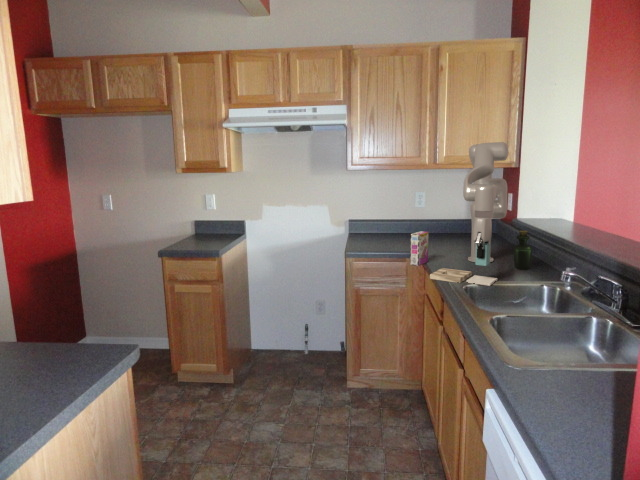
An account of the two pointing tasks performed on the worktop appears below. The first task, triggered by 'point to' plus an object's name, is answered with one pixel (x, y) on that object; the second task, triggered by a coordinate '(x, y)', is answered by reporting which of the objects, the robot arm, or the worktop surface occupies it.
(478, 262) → the teal block
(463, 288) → the worktop surface
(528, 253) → the potion bottle
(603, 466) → the worktop surface
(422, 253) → the candy bar box
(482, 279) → the tile
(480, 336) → the worktop surface
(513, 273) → the worktop surface
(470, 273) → the pocket base
